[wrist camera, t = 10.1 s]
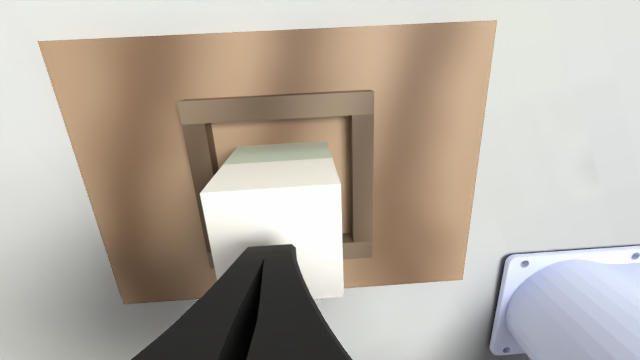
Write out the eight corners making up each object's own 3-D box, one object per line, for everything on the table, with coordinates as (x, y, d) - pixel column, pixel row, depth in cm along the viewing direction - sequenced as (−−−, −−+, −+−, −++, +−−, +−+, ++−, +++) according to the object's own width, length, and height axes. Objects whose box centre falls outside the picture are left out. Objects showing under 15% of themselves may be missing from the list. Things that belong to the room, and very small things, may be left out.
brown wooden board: (484, 23, 15) (510, 17, 13) (455, 269, 20) (470, 290, 18) (55, 42, 14) (17, 39, 12) (132, 292, 19) (113, 317, 17)
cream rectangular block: (327, 141, 16) (340, 184, 10) (330, 220, 17) (344, 296, 11) (237, 146, 15) (199, 193, 10) (249, 226, 17) (222, 306, 11)
